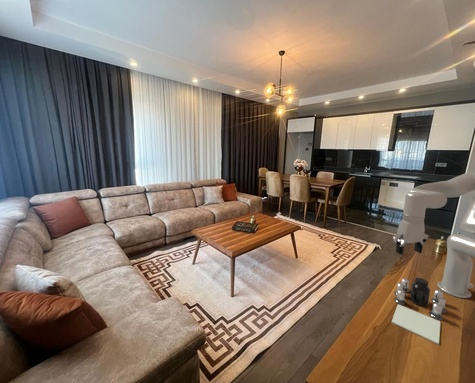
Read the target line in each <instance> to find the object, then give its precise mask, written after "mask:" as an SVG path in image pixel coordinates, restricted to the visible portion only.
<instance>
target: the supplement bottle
mask: <svg viewBox="0 0 475 383" xmlns="http://www.w3.org/2000/svg"><path fill="white" fill-rule="evenodd" d="M430 293H431V288H430V287H429V281H428V280H427V279H424V278H421V277H416V278H415V280H414V282H412V284H411V288H410V296H409V300H410V301H411V302H412V303H413V304H415V305H417V306H419V307H427V306H429V301H430V300H429V299H430Z"/></svg>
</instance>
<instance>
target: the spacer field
mask: <svg viewBox="0 0 475 383" xmlns="http://www.w3.org/2000/svg"><path fill="white" fill-rule="evenodd" d="M409 285H410V280H409V279H407V278H404V277H403V278H401V282H397V285H396V286H397V287H396V290H395V291H394V295H395V296H396V297H395V298H394V302H395V303H396V304H397V305H398V304H399V305H401V306H406V303H407V302H406V301H405V299H406V293H407V294H408V293H410V292H411V289H409ZM430 298H431V297H430ZM430 301H431V302H432V303H433V304H432V308H431V311H429V312H428V313H429V314H428V315H429V317H430V318H433V319H435V320H438V321H443V318H444V317H443V316H442V314H446V313H447V310H446V309H445V307H446V302H447V300H446V298H444V291H442V290H441V289H438V288H437V289H434V293H433V297H432V298H431V299H430Z"/></svg>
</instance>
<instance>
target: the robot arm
mask: <svg viewBox="0 0 475 383" xmlns="http://www.w3.org/2000/svg"><path fill="white" fill-rule="evenodd" d="M463 195H467V198H468V201H469V202H468V203H469V206H468V209H467V210H466V212H465V215H464V216H463V218H462V220H461V222H460V225H459V228H460V230H461V231H462V232H464V233H466V234H469V235H472V236H475V171H473V172H472V171H471V172H466V173H463V174H460V175H457V176H455V177H453V178H451V179H448V180H444V181H443V180H442V181H437V182H429V183H424V184H421V185H418V186H415V187H414V188H411V189H410V190H409V191H408V192H407V193H405V198H404V205H403V212H402V213H403V214H402V220H400V222H399V225H398V227H397V233H396V235H394V236H392V240H393V242H394V244H395V245H396V249H395V252H396V253H397V254H399V255H401V256H402V255H403V254H404V248H405V247H404V245H405V244H411V243H414V251H415V252H416V253H418V254H422V253H423V246H424V245H425V243H426V242H427V239H428V238H429V235H428V234H427V233H425V231H426V230H425V218H426V216H425V215H426V209H440V208H443V207H444V206H446V204H447V202H448V198H459V197H462V196H463ZM466 234H462V233H461V234H460V233H452V234H450V235H449V236H448V237H447V239H446V248H447V249H446V250H447V251H446V252H447V253H446V259H445V265H444V269H443V274H442V280H441V281H438V282H437V287H438V288H439V290H441V291H442V292H443V293H446V294H448V295H450V296H453V297H457V298H461V299H470V298H471V297H472V292H471V291H469V289H470V288H474V283H471V282H470V281H471V277H472V271H473V269H474V268H473V267H474V262H473V261H474V260H473V259H475V237H472V236H469V235H466ZM472 258H473V259H472Z"/></svg>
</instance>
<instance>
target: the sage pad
mask: <svg viewBox="0 0 475 383" xmlns="http://www.w3.org/2000/svg"><path fill="white" fill-rule="evenodd" d="M391 324H393V325H395V326H398V327H400V328H402V329H404V330H407V331H408V332H410V333H413V334H415V335H417V336H418V337H421V338H423V339H425V340H428V341H430V342H432V343H434V344H436V345H438V346H439V345H440V333H441V320H437V319H434V318H432V317H431V316H428V315H426V314H423V313H421V312H419V311H416V310H414V309H410V308H408V307H406V306H405V305H400V304H398V303H397V305H396V309H395V310H394V314H393V317H392V320H391Z"/></svg>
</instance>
